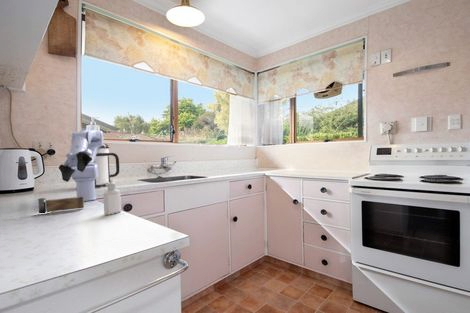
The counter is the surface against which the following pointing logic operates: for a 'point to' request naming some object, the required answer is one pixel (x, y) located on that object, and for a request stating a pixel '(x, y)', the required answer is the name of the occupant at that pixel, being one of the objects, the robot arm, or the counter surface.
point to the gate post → (42, 205)
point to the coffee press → (104, 165)
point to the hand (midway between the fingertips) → (72, 175)
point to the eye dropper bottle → (112, 199)
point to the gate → (64, 204)
